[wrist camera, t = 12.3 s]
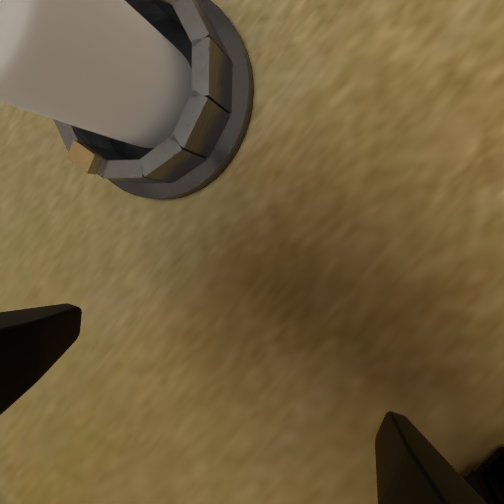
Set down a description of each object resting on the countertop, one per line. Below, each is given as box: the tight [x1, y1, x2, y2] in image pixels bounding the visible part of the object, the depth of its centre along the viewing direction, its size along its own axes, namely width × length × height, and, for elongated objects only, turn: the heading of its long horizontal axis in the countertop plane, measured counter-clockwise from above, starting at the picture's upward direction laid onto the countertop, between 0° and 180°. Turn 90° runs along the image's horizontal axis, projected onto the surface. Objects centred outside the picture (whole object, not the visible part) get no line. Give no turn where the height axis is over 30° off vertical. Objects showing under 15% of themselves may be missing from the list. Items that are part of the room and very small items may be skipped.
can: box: [0, 0, 192, 148], centre depth 15 cm, size 6×6×12 cm
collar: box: [53, 0, 254, 199], centre depth 20 cm, size 13×13×5 cm
